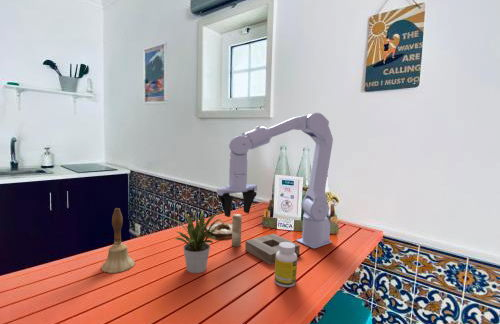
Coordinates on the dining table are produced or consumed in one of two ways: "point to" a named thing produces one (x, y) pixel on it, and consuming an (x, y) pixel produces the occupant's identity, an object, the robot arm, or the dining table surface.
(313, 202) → the robot arm
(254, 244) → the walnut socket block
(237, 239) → the beech peg
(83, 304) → the dining table surface
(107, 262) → the hand bell
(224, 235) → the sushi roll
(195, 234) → the house plant
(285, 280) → the supplement bottle
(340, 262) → the dining table surface
